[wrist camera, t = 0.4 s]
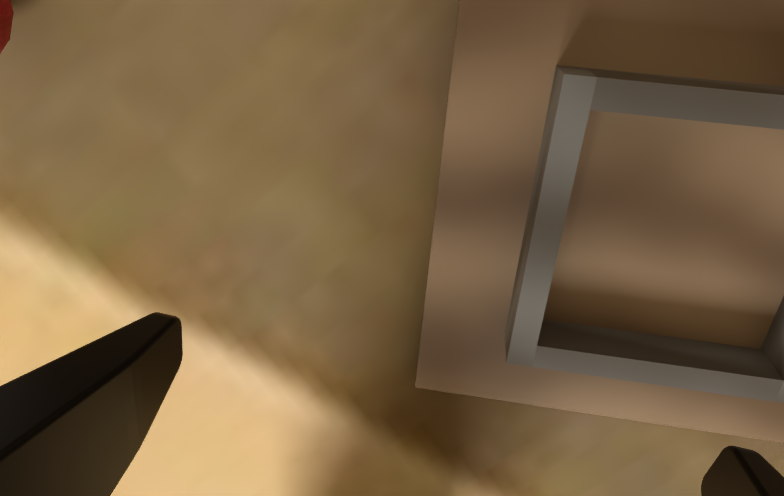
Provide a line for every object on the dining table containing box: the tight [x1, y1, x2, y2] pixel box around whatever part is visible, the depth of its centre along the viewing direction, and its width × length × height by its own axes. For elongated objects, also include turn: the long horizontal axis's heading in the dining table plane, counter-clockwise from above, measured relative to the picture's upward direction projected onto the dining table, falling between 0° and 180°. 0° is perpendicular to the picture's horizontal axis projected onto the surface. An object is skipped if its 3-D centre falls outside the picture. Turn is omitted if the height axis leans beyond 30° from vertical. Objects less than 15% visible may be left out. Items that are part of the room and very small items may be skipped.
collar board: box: [415, 0, 784, 443], centre depth 21 cm, size 18×18×3 cm
